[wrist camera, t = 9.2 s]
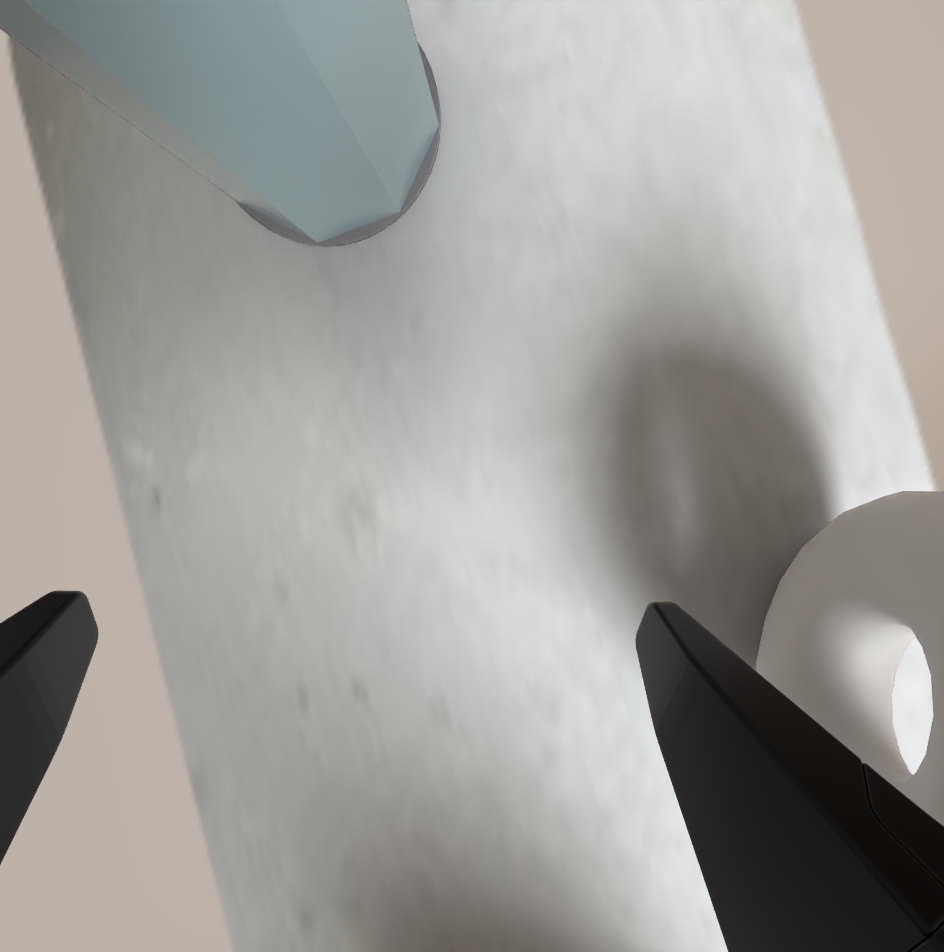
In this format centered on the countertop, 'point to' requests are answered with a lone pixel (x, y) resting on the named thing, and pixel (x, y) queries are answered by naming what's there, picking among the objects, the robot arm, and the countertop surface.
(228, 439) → the countertop surface
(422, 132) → the dome-topped hexagonal post
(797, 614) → the donut
